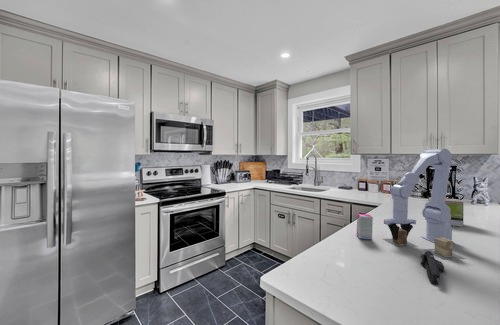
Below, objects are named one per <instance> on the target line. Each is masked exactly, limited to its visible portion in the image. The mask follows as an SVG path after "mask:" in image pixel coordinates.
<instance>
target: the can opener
mask: <svg viewBox="0 0 500 325" xmlns="http://www.w3.org/2000/svg"><path fill="white" fill-rule="evenodd" d="M419 257H420V258H421V261H420V263H419V264H420V265H421V266H423V267H425V269H426V274H427V278H428V280H429V282H430V284H432V285H435V286H438V285H439V282H438V279H440V278H441V274H440V273H444V271H445V266H444V264H443V262H442V261H440V260H438V259H436V258H435V257H434V255H433V254H432V253H431V252H430V251H424V253H422V254H421V253H419Z"/></svg>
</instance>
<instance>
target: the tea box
mask: <svg viewBox="0 0 500 325" xmlns="http://www.w3.org/2000/svg"><path fill="white" fill-rule="evenodd" d="M430 200H431V197H428V202H429V201H430ZM445 204H446V205H447V206H448V207H450V213H451V220H450V221H449V222H448V223H449V224H450V225H451V227H453V226H454V227H461V228H463V227H464V201H463V200H460V199H458V198H457V199H456V198H445ZM434 208H437V207H434ZM438 209H439V208H438Z"/></svg>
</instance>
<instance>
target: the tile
mask: <svg viewBox="0 0 500 325" xmlns="http://www.w3.org/2000/svg"><path fill="white" fill-rule="evenodd" d="M382 240H383V241H385V242H387V243H389V244H391V245H393V246H394V247H396V248H415V247H418V245H416V244H414V243H412V242H410V241H408V240H407V244H397V243H395V242H393V241H392V238H382Z"/></svg>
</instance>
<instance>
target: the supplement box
mask: <svg viewBox="0 0 500 325" xmlns="http://www.w3.org/2000/svg"><path fill="white" fill-rule="evenodd" d="M356 214H357V215H356V217H357V218H356V237H357V239H359V240H361V241H363V240H364V241H372V240H373V224H374V222H373V220H374V218H373V217H374V216H372V215H371V214H368V213H367V214H366V213H356Z"/></svg>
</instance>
